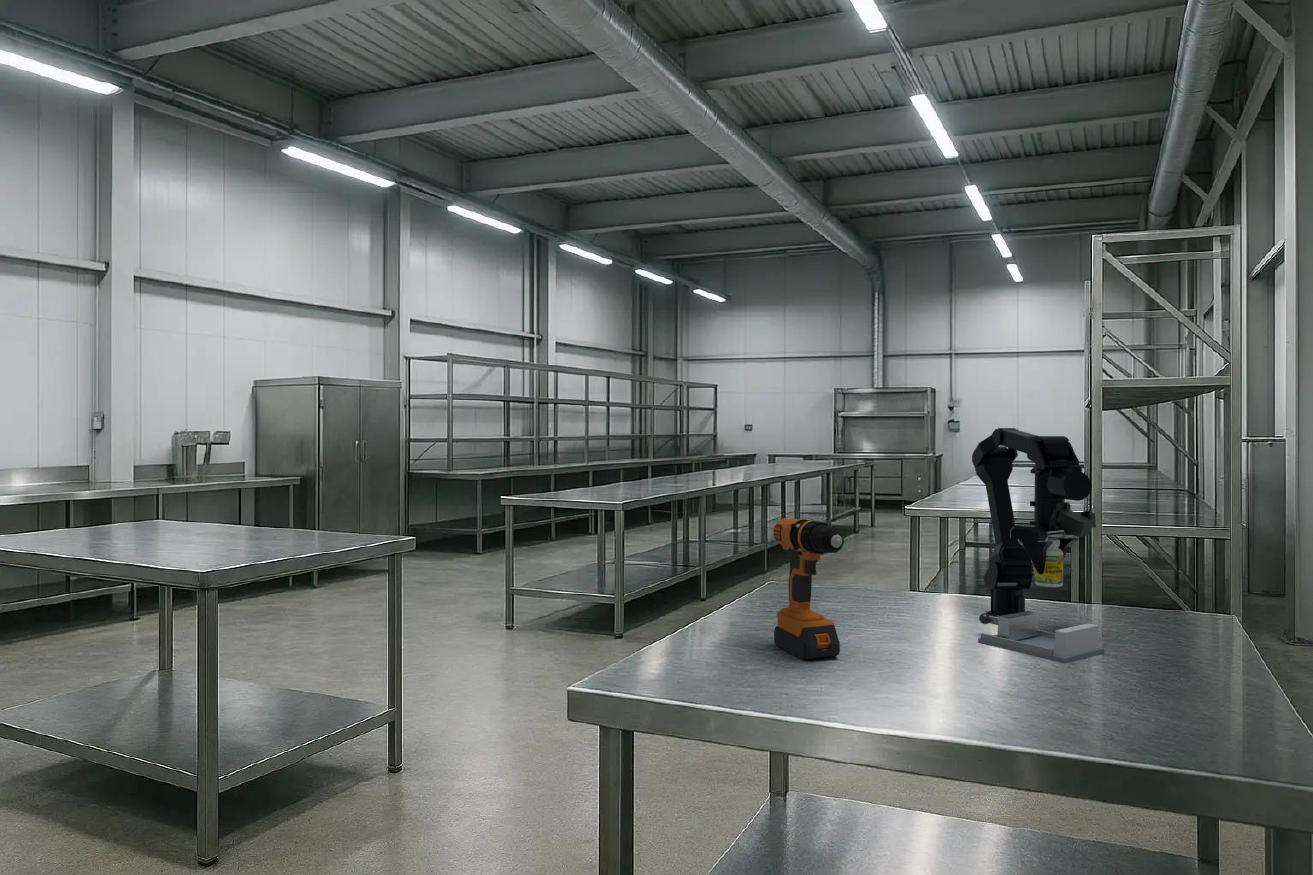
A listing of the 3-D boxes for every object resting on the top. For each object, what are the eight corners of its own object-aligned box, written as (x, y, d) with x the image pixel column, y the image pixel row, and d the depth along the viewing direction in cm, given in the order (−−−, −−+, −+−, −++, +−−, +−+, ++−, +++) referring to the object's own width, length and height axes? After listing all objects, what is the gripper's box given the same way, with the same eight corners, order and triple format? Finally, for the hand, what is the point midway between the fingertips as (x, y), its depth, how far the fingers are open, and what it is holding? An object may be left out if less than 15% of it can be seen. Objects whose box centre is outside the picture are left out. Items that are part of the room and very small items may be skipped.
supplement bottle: (1053, 582, 185) (1053, 537, 184) (1068, 587, 179) (1069, 540, 179) (1029, 583, 184) (1029, 537, 184) (1044, 587, 178) (1044, 540, 178)
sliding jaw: (964, 631, 178) (964, 609, 178) (994, 625, 183) (995, 604, 183) (1008, 641, 169) (1008, 618, 169) (1039, 635, 175) (1039, 612, 175)
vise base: (978, 642, 173) (978, 615, 173) (1017, 633, 180) (1018, 608, 180) (1064, 662, 158) (1064, 633, 158) (1104, 652, 166) (1104, 625, 166)
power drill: (860, 668, 154) (862, 525, 153) (823, 671, 151) (824, 526, 151) (802, 639, 174) (803, 513, 174) (768, 642, 172) (769, 514, 171)
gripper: (1060, 501, 169) (1059, 582, 170) (1112, 497, 180) (1111, 574, 180) (1008, 497, 179) (1007, 574, 179) (1061, 494, 189) (1060, 566, 189)
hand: (1048, 572), depth 182 cm, fingers closed on supplement bottle, 5 cm apart
